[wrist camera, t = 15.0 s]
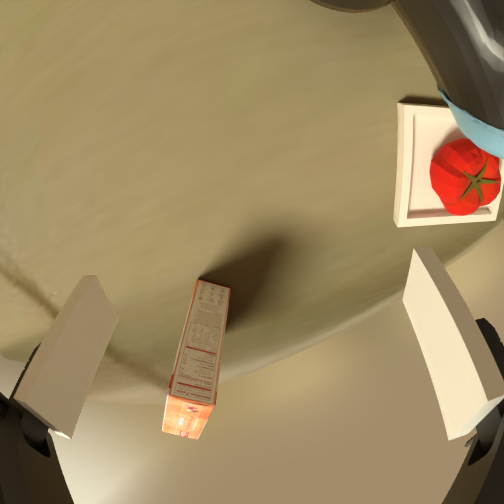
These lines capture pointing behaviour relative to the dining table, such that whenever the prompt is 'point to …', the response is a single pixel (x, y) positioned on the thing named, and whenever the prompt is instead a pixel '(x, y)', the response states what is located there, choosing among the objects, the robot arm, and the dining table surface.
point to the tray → (428, 167)
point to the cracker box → (197, 362)
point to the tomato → (465, 177)
